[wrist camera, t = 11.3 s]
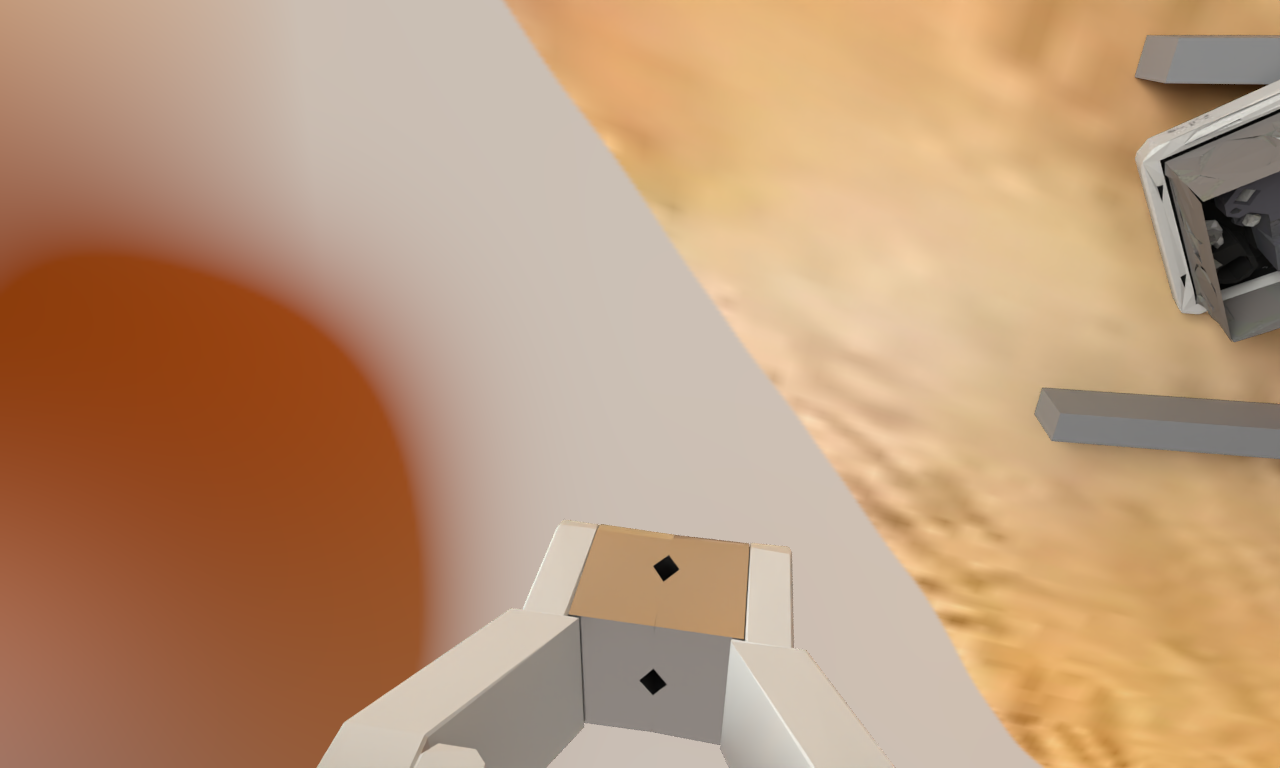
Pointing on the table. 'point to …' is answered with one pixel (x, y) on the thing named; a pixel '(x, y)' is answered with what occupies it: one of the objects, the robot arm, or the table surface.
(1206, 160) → the electrical switch
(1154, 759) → the table surface
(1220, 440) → the frame
